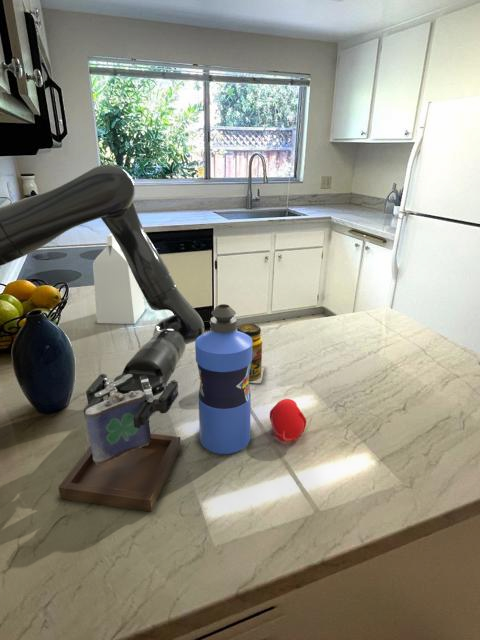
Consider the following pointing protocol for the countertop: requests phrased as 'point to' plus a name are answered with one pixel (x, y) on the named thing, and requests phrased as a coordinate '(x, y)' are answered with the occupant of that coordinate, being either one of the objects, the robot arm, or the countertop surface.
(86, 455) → the tray
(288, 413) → the cap
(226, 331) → the water bottle
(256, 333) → the condiment
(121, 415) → the flask
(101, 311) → the milk
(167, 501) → the countertop surface
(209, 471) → the countertop surface
